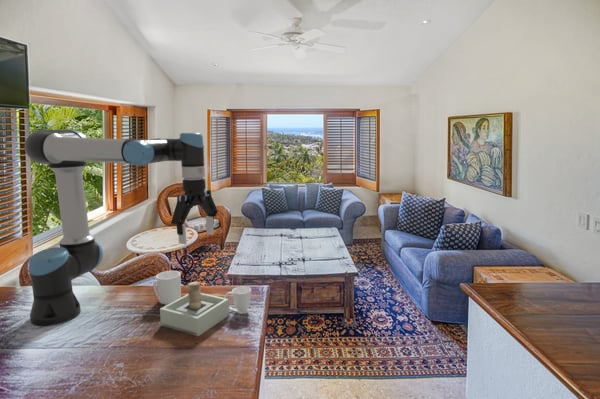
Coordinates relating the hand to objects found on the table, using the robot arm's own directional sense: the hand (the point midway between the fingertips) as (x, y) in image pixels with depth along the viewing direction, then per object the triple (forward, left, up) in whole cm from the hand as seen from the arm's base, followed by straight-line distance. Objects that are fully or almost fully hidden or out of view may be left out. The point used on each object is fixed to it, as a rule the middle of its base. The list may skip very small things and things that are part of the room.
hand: (197, 238), depth 139 cm
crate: (+4, -7, -27) cm, 28 cm away
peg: (+4, -7, -26) cm, 27 cm away
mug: (-16, 0, -27) cm, 31 cm away
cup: (+13, +5, -27) cm, 30 cm away
